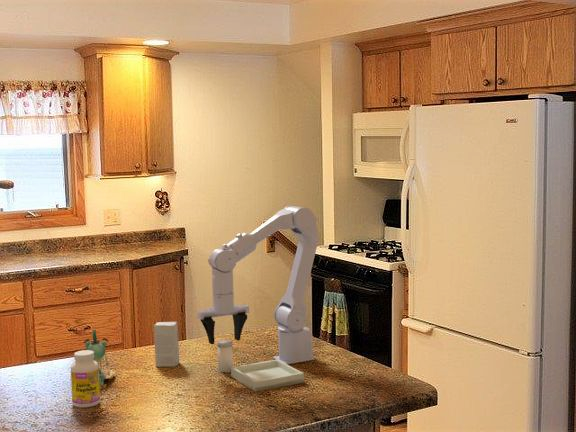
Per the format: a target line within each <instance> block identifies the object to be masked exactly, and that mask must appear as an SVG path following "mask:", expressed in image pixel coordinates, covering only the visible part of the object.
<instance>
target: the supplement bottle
mask: <svg viewBox="0 0 576 432" xmlns="http://www.w3.org/2000/svg"><path fill="white" fill-rule="evenodd" d="M73 358H74V360H75V362H73V363H72V364H71V366H70V380H71V381H70V382H71V403H72V405H73V406H74V407H75V408H80V409H82V408H83V409H85V408H91V407H94V406H97V405H98V404H99V403H100V402H101V389H100V382H99V369H100V364H99V365H98V361H94V360H93V358H94V351H91V350H87V349H86V350H85V349H84V350H83V349H82V350H79V351H76V352H74V355H73Z"/></svg>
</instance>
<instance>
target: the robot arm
mask: <svg viewBox="0 0 576 432" xmlns="http://www.w3.org/2000/svg"><path fill="white" fill-rule="evenodd" d="M317 219H318V218H317V216H316V215H315V212H313V210H311V209H310V208H308V207H305V206H301V207H300V206H296V205H293V204H291V205H287V206H285V207H284V208H283V209H280V210H278V211H277V212H276V213H275V214H274V215H273V216H271V217H270V218H269V219H267V220H266V221H264V223H262V224H261V225H260V226H258V227H257V228H255V230H253V231H252V232H251V233H248V232H242V233H241V232H239V233H237V234H236V235H235V238H233V239H231V241H229V242H228V243H223V244H222V246H221V247H222V248H216V249H214V250H213V251H212V252H211V253H210V255H209V258H208V259H207V262H208V264H209V266H210V267H211V276H212V277H211V280H212V281H211V283H212V284H211V285H212V308H208V309H202V310H199V311H197V319H198V320H199V321H200V323H201V325H202V326H203V328H204V330H205V333H206V335H207V338H208V343H209V344H210V345H211V346H212V345H215V325H216V321H215V320H213V318H217V317H218V318H219V317H225V316H232V321H233V333H234V340H236V341H241V335H242V331H243V328H244V325H245V323H246V321H247V319H248V314H250V305H247V304H244V305H235V299H234V298H235V296H234V294H235V293H234V275H233V274H234V272H233V271H234V269H235V267H236V265H237V263H238V262H240V261H241V260H242V259H245V258H246V257H247V256H249V255H250V254H251V253H253V252H255V251H256V250H257V245H258V244H259V243H260V242H262V241H263V240H265V239H266V238H268V237H270V236H272V235H273V234H275V233H277V232H279V230H291V232H293V234H294V235H295V237H296V239H297V240H298V243H297V249H296V253H295V255H294V259H293V264H292V268H291V272H290V276H289V279H288V284H287V289H286V292H285V294H283V296H282V297H281V298H280V301H279V303H278V306H276V308H275V310H274V314H273V315H274V316H273V318H274V320H275V322H276V323H277V324H278V325H277V333H278V334H277V338H278V339H277V342H278V355H276V356H273V360H276V359H278V360H280V361H282V362H283V363H285V364H287V365H291V364H292V365H293V364H297V363H304V362H309V361H314V360H315V357H314V345H313V344H314V342H313V333H312V331H311V329H310V328H309V327H308V326H306V324H307V321H308V318H307V317H308V316H307V308H308V306H307V302H306V300H305V297H306V294H307V288H308V285H309V280H310V277H311V272H312V268H313V265H314V259H315V257H316V251H317V248H318V243H319V239H320V238H319V230H318V226H317V221H318V220H317Z"/></svg>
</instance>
